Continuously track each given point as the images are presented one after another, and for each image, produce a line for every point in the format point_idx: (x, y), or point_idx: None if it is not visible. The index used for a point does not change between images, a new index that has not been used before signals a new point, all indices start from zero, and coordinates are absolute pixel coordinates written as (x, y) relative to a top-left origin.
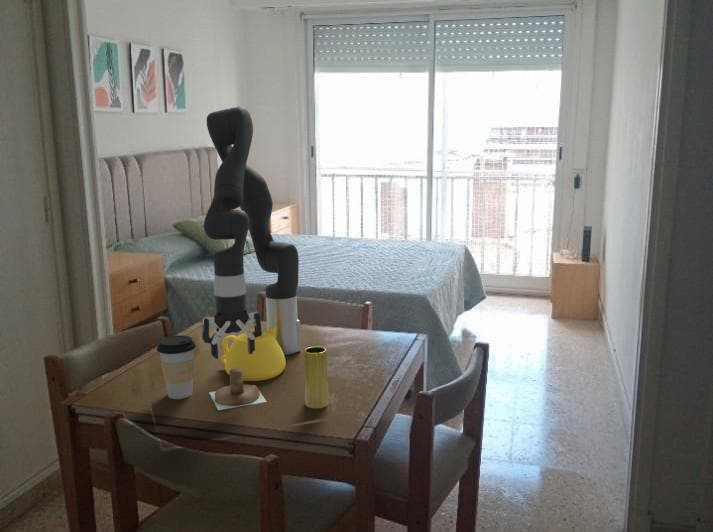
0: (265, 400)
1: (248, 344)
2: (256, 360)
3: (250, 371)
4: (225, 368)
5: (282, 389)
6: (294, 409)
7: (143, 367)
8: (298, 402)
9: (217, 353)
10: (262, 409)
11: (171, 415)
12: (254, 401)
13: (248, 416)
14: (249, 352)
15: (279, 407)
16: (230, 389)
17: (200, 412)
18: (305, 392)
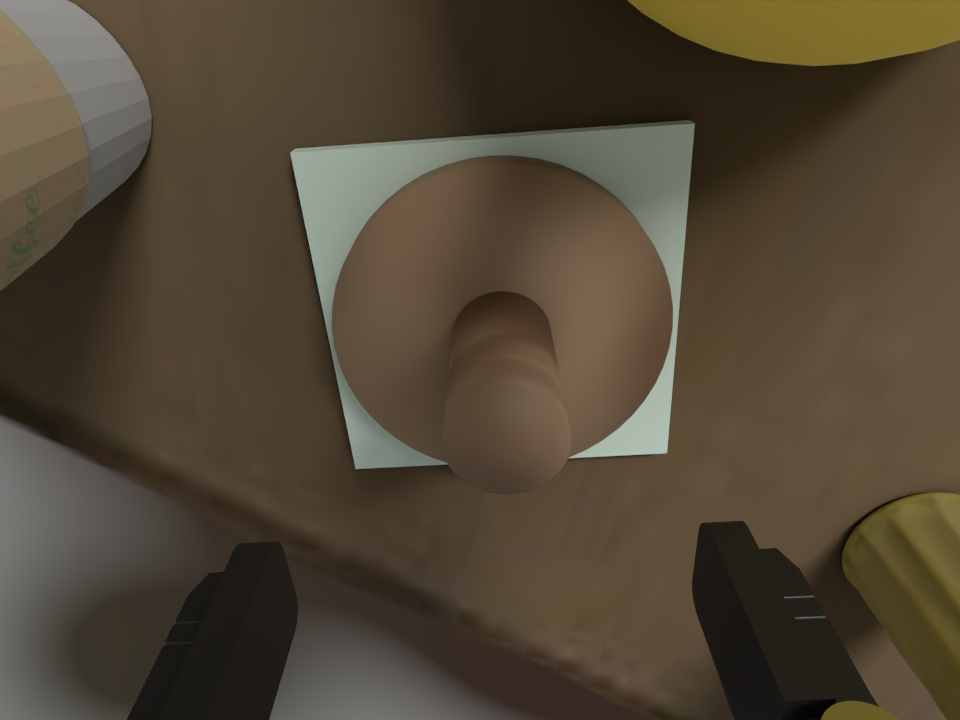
0: (665, 434)
1: (738, 656)
2: (855, 32)
3: (717, 43)
4: None
5: (864, 249)
6: (776, 547)
7: None
8: (844, 479)
9: (275, 675)
10: (613, 498)
11: (71, 409)
12: None
13: (517, 547)
14: (699, 596)
15: (712, 504)
16: (459, 262)
17: (250, 425)
18: (900, 604)
